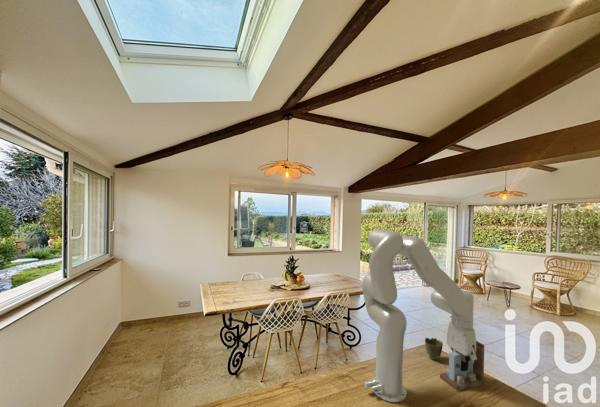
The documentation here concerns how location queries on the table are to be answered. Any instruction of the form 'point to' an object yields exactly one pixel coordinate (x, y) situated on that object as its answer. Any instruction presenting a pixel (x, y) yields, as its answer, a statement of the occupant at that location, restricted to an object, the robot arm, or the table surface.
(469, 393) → the table surface
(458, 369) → the door
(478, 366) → the cabinet base
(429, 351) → the cup
